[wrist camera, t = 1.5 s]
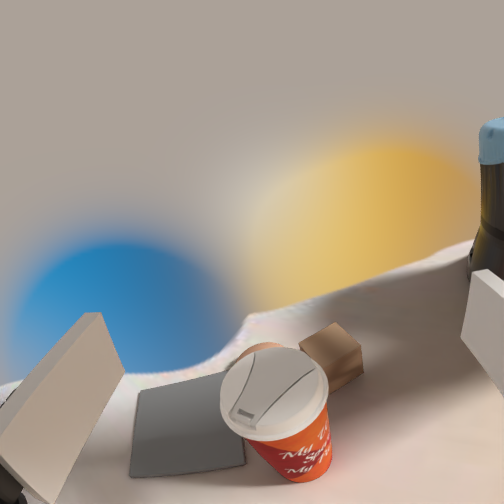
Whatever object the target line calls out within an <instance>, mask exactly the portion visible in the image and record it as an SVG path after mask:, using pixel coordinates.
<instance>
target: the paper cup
mask: <svg viewBox="0 0 504 504" xmlns="http://www.w3.org/2000/svg"><path fill="white" fill-rule="evenodd" d="M328 388H329V386H328V380H327V377H326V374H325V372H324V371H323V369H322V367H321V366H320V365H319V364H318V363H317V362H315V361H314V360H313V359H311V358H310V357H309V356H308V355H307V354H306V353H304V352H303V351H300V350H297V349H292V348H286V347H271V348H267V349H262V350H259V351H255V352H252V353H250V354H249V355H247V356H245V357H243V358H242V359H240V360H239V361H238V362H237V363H236V364H234V365H233V367H232V368H231V369H230V370H229V371H228V373H227V374H226V376H225V378H224V380H223V382H222V385H221V390H220V410H221V414H222V417H223V419H224V421H225V423H226V424H227V425H228V426H229V428H230V429H232V430H233V431H234V432H235V433H237V434H238V435H240V436H242V437H244V438H245V439H246V440H247V441H248V442H249V443H250V444H251V445H252V446H253V448H254V449H255V450H256V451H257V452H258V453H259V454H260V455H261V456H262V457H263V458H264V459H265V460H266V461H267V462H268V463H269V464H270V465H271V466H273V467H274V468H275V469H276V470H277V471H278V472H279V473H280V474H281V475H282V476H284V477H285V478H287V479H289V480H291V481H294V482H309V481H312V480H315V479H317V478H319V477H320V476H322V475H323V474H324V473H325V472H326V471H327V469H328V468H329V466H330V464H331V460H332V444H331V435H330V426H329V419H328V411H327V404H326V401H327V397H328Z"/></svg>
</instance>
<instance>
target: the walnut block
mask: <svg viewBox="0 0 504 504" xmlns="http://www.w3.org/2000/svg"><path fill="white" fill-rule="evenodd" d="M299 347H300V350H301V351H303V352H304V353H306V354H307V355H308V356H309V357H310V358H311V359H313V360H314V361H315V362H317V363H318V364H319V365H320V366H321V367H322V369H323V371H324V372H325V374H326V377H327V380H328V386H329V388H328V395H329V394H331V393H332V392H334V391H336V390H337V389H339V388H340V387H342V386H344V385H345V384H347V383H348V382H350V381H351V380H353V379H355V378H356V377H358V376H359V375H361V374H362V373H364V372H363V361H362V351H361V345H360V344H359V343H358V342H357V341H356V340H355V339H354V338H353V337H351V336H350V335H349V334H348V333H347V332H346V331H345V330H344V329H343V328H342V327H340V326H339V325H338V324H337V323H336V322H334V323H332V324H331V325H329V326H327V327H326V328H324V329H322V330H320V331H319V332H317V333H315V334H314V335H312V336H310V337H308V338H306V339H305V340H303V341H301V342H299Z"/></svg>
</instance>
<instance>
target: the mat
mask: <svg viewBox="0 0 504 504" xmlns="http://www.w3.org/2000/svg"><path fill="white" fill-rule="evenodd" d="M228 371H229V370H227V371H223V372H219V373H215V374H212V375H208V376H204V377H200V378H196V379H191V380H187V381H183V382H179V383H174V384H170V385H165V386H160V387H156V388H151V389H146V390H141V391H140V397H139V404H138V410H137V417H136V424H135V431H134V438H133V446H132V454H131V463H130V472H129V476H130V477H131V478H142V477H159V476H171V475H181V474H190V473H198V472H205V471H212V470H218V469H224V468H230V467H235V466H240V465H245V464H246V461H245V453H244V446H243V438H242V436H240V435H238V434H237V433H235V432H234V431H233V430H232V429H230V428H229V426H228V425H227V424H226V423H225V421H224V419H223V417H222V414H221V410H220V390H221V385H222V382H223V380H224V378H225V376H226V374H227V373H228Z"/></svg>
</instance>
